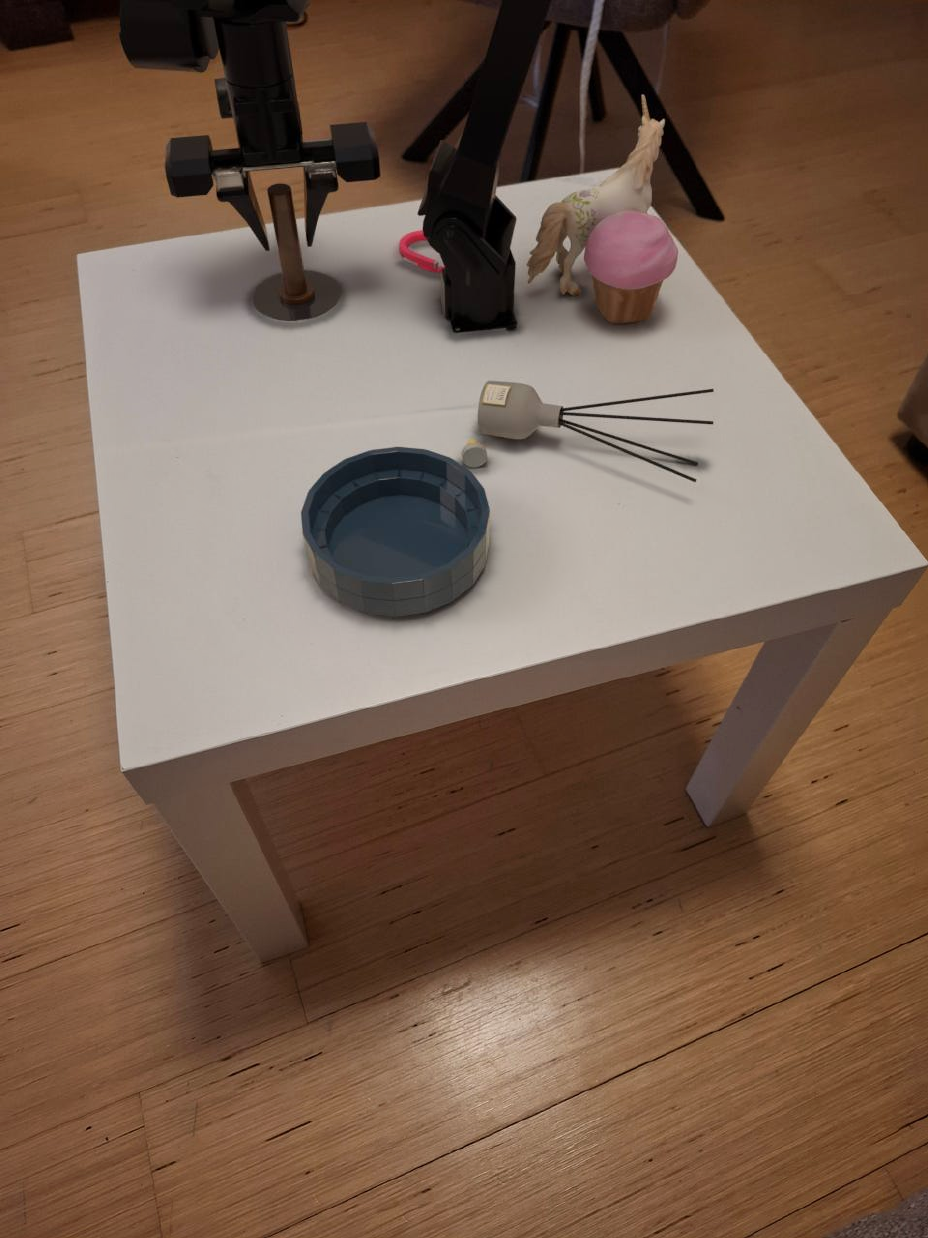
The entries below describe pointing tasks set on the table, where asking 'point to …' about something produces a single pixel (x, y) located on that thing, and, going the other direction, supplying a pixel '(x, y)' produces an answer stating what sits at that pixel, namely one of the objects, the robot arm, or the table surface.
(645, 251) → the cupcake
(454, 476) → the bowl
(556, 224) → the unicorn figurine
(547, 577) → the table surface
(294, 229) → the brown collared rod
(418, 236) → the fitness band
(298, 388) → the table surface
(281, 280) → the coaster
